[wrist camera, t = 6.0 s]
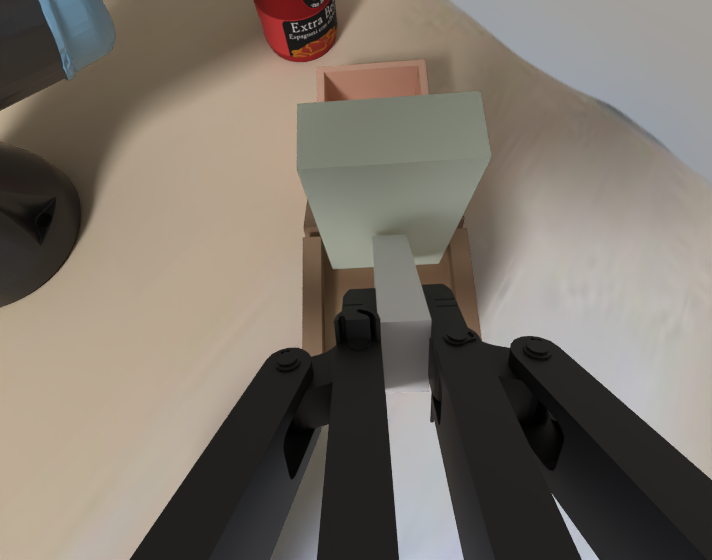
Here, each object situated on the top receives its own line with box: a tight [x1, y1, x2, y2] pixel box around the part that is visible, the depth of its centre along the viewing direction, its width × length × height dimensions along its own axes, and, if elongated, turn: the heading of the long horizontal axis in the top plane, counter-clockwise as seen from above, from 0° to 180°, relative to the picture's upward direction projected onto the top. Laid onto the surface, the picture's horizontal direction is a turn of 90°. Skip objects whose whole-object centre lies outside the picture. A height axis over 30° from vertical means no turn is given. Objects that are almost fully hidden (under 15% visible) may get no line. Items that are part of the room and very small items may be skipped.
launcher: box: [302, 199, 482, 384], centre depth 26 cm, size 16×9×11 cm, turn 2°
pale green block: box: [297, 91, 491, 269], centre depth 17 cm, size 2×6×10 cm, turn 92°
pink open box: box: [317, 59, 429, 102], centre depth 32 cm, size 10×9×5 cm
